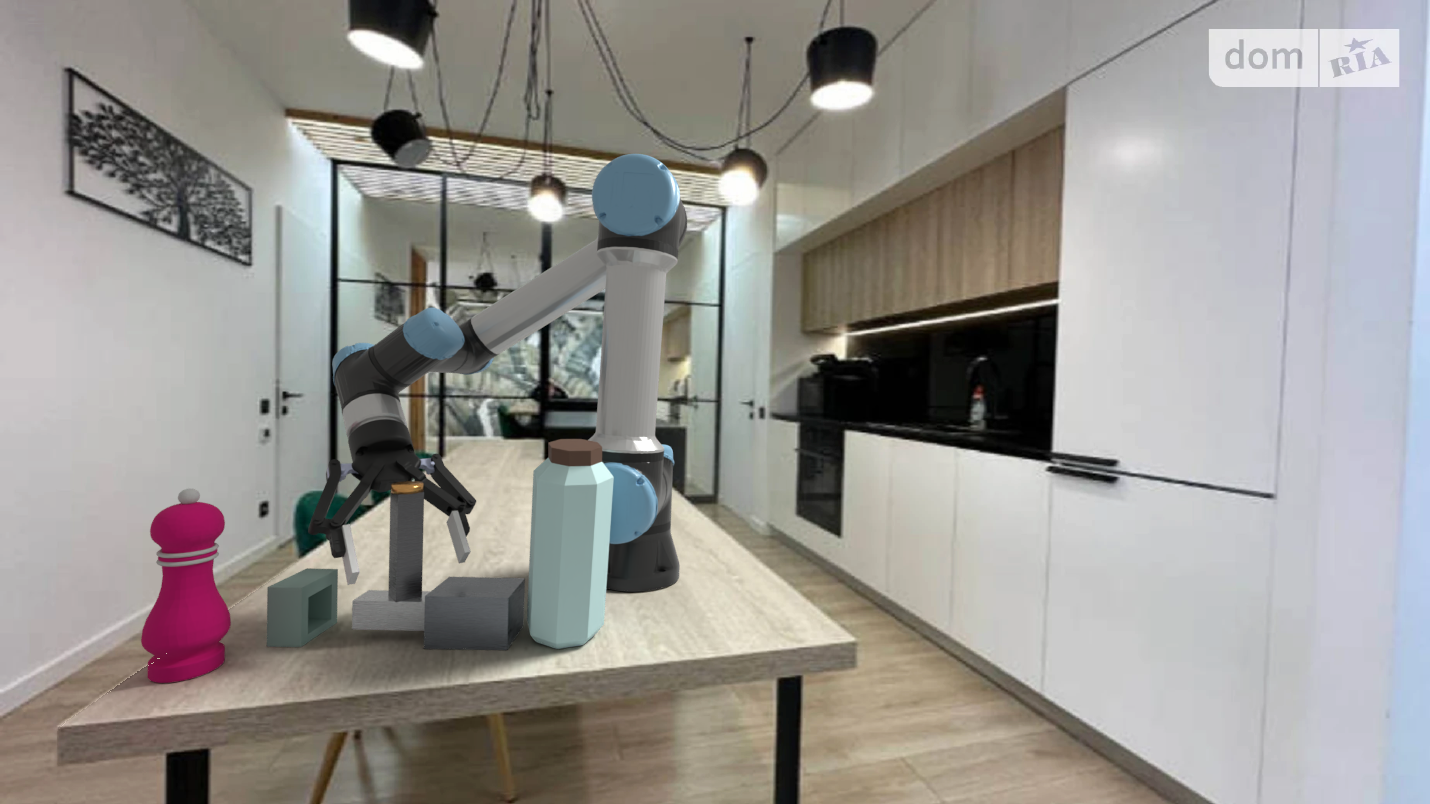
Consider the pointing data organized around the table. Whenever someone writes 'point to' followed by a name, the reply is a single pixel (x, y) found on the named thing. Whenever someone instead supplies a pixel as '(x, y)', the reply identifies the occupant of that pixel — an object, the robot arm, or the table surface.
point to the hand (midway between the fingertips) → (412, 567)
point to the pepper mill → (186, 593)
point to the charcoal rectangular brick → (474, 613)
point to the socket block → (301, 607)
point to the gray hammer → (399, 568)
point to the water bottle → (569, 544)
